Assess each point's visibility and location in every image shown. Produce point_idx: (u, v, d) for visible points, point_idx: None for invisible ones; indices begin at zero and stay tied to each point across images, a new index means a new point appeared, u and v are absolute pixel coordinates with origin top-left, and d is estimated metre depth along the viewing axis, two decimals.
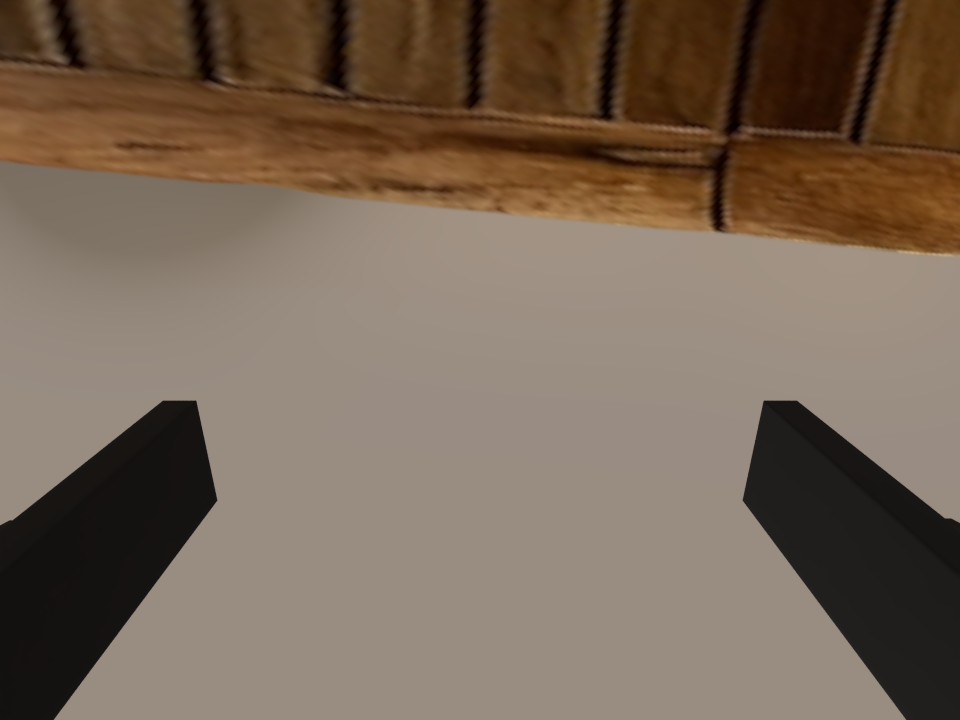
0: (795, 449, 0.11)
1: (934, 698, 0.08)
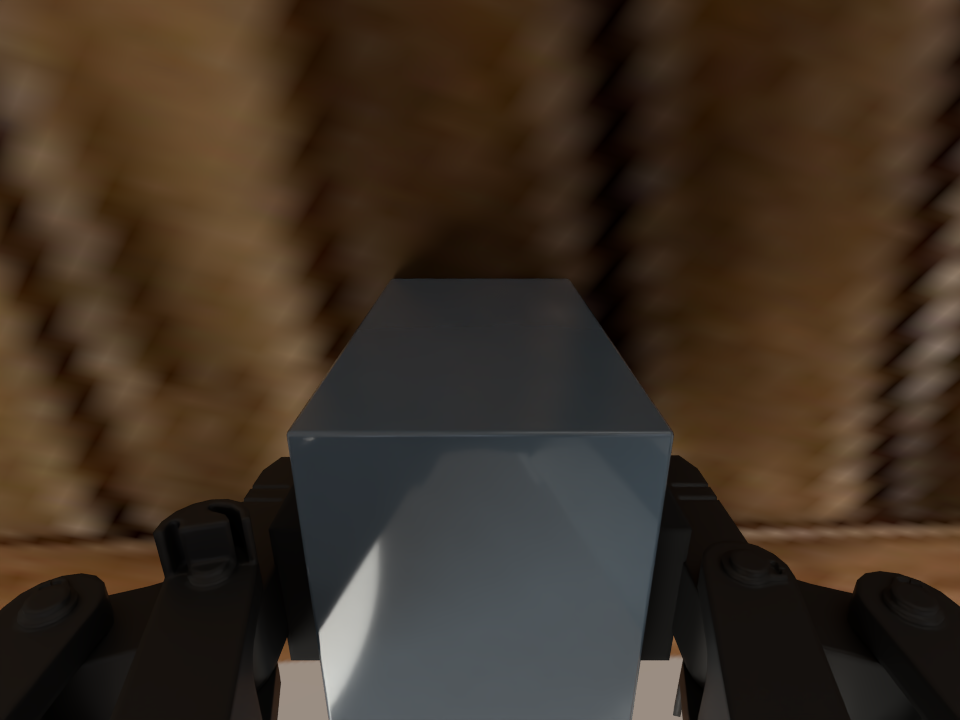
0: None
1: None
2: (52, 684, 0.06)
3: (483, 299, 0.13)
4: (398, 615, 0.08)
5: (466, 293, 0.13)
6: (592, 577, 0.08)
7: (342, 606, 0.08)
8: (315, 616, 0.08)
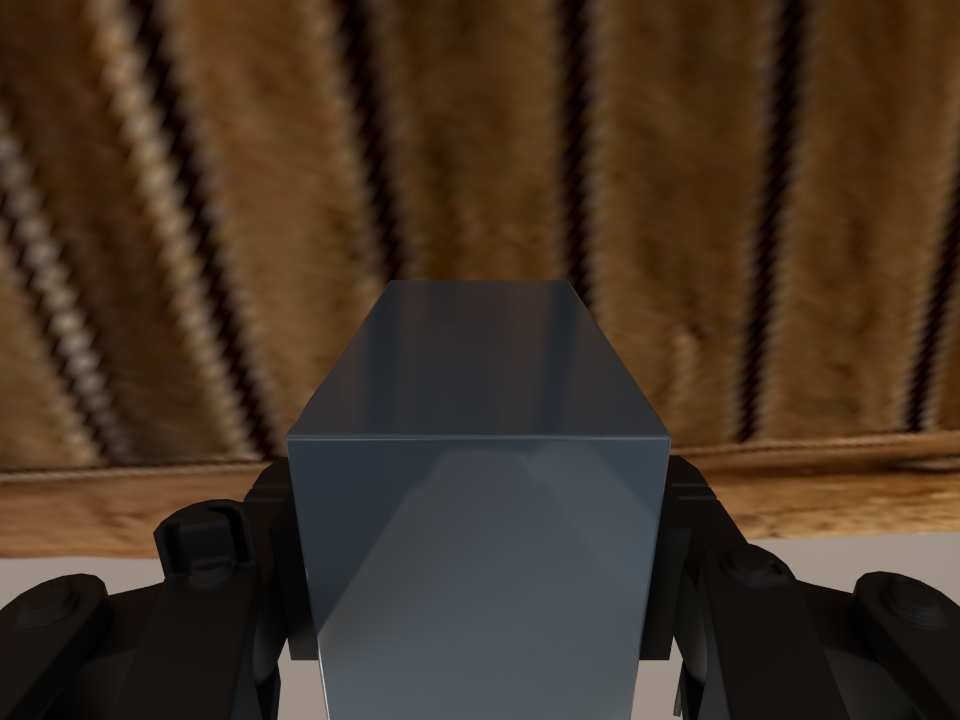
0: None
1: None
2: (52, 684, 0.06)
3: (482, 301, 0.13)
4: (396, 619, 0.08)
5: (465, 295, 0.13)
6: (590, 580, 0.08)
7: (341, 609, 0.08)
8: (314, 619, 0.08)
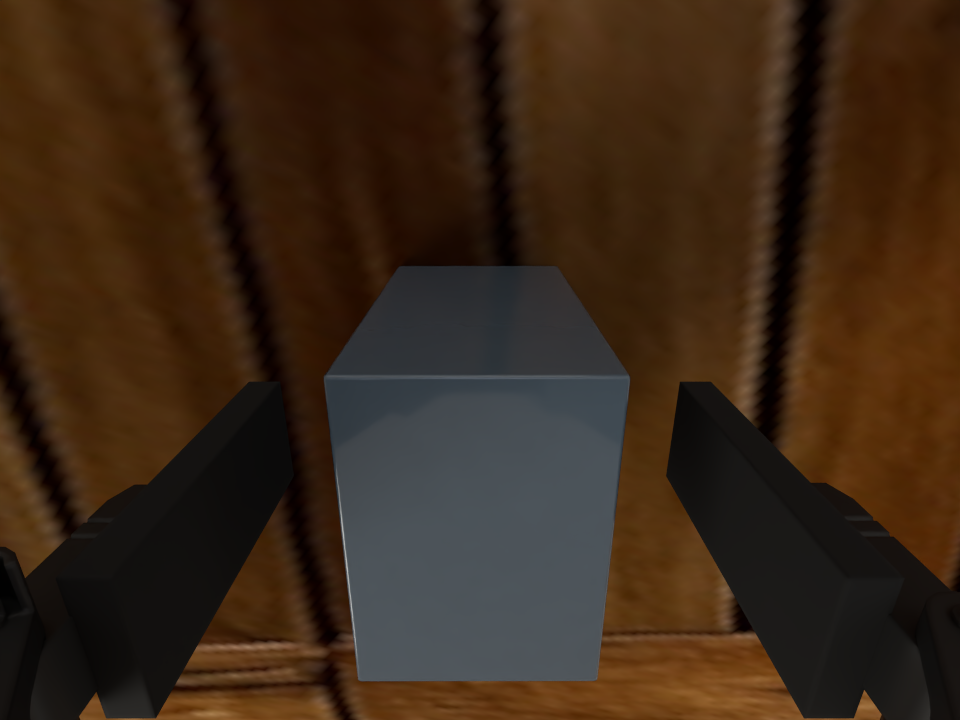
0: (700, 424, 0.12)
1: (786, 635, 0.09)
2: None
3: (480, 282, 0.14)
4: (410, 531, 0.10)
5: (465, 277, 0.15)
6: (568, 498, 0.09)
7: (365, 523, 0.10)
8: (343, 532, 0.10)
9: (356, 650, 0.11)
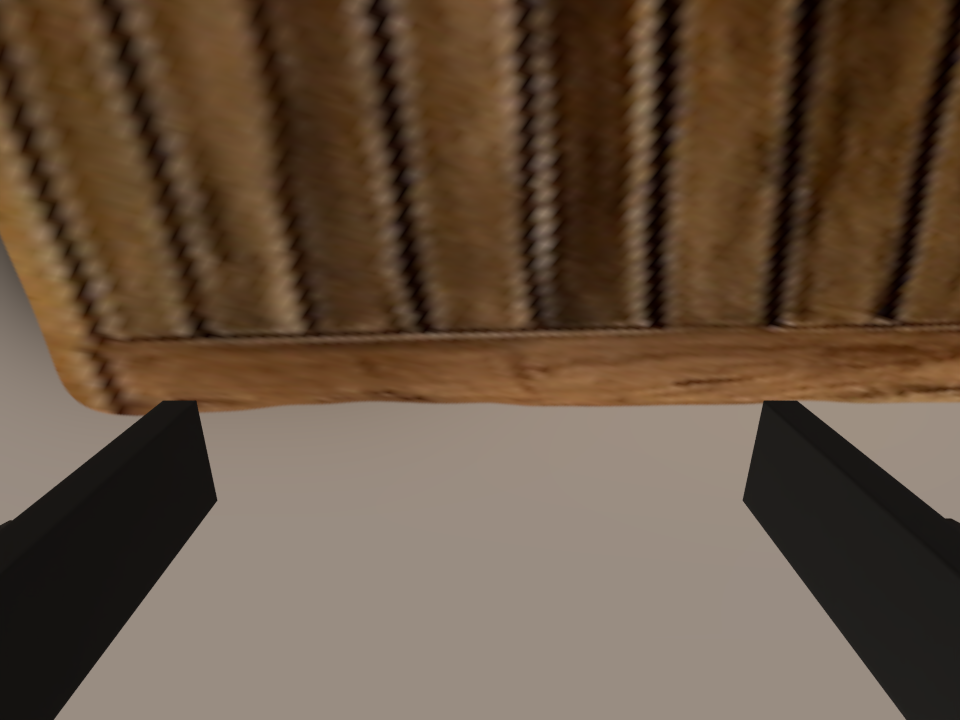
0: (796, 449, 0.11)
1: (934, 698, 0.08)
2: None
3: None
4: None
5: None
6: None
7: None
8: None
9: None
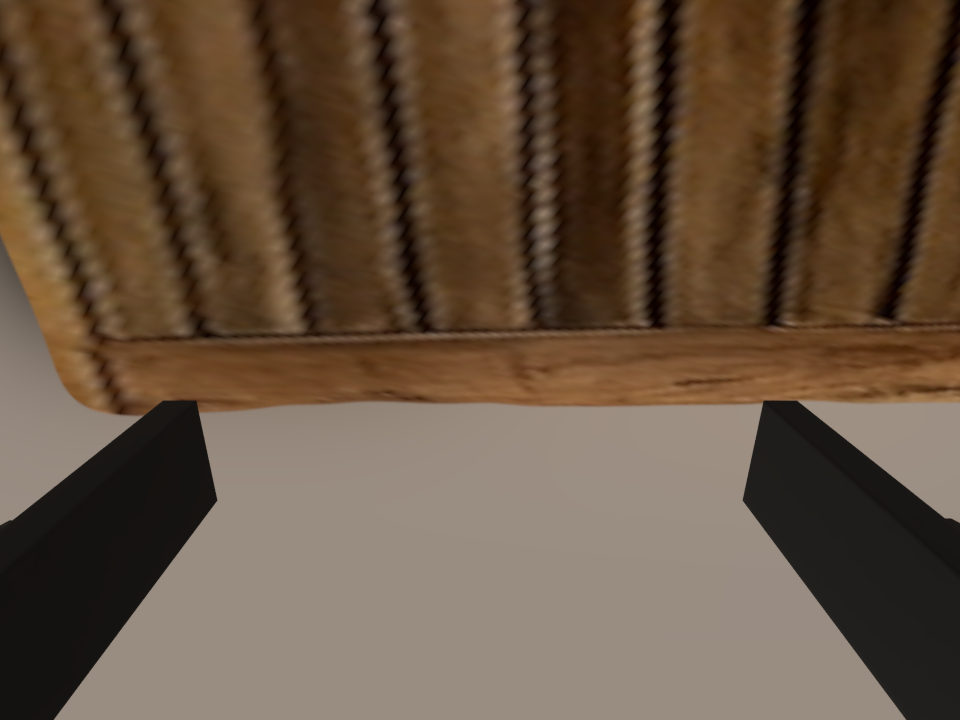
0: (796, 449, 0.11)
1: (934, 698, 0.08)
2: None
3: None
4: None
5: None
6: None
7: None
8: None
9: None
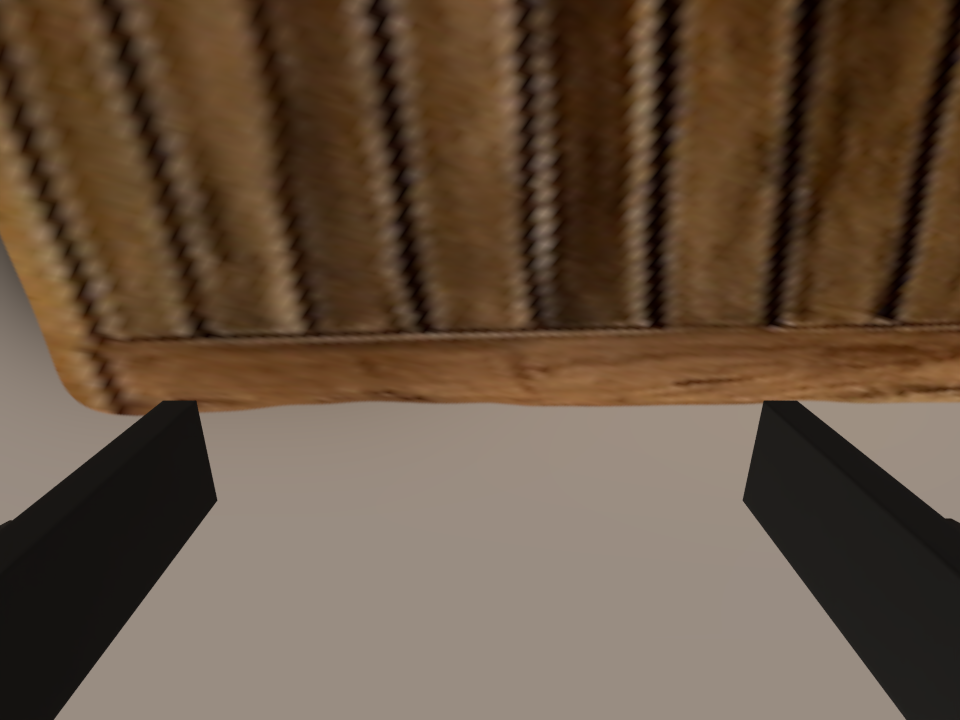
0: (796, 449, 0.11)
1: (934, 698, 0.08)
2: None
3: None
4: None
5: None
6: None
7: None
8: None
9: None
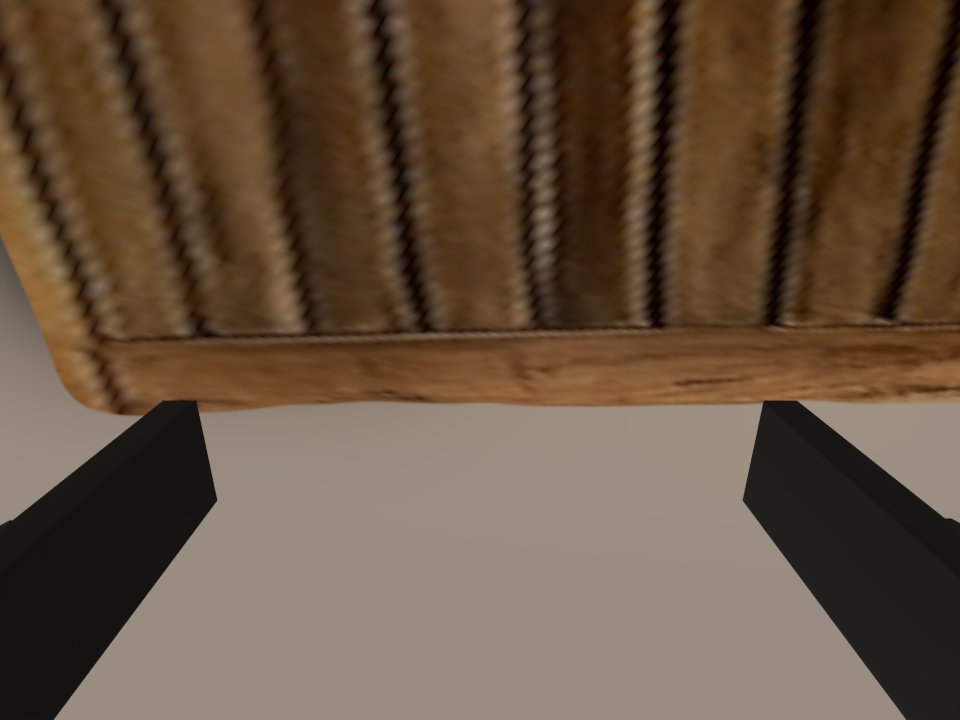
0: (796, 449, 0.11)
1: (934, 698, 0.08)
2: None
3: None
4: None
5: None
6: None
7: None
8: None
9: None
